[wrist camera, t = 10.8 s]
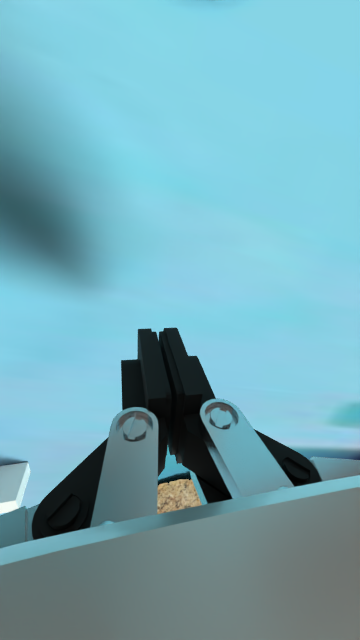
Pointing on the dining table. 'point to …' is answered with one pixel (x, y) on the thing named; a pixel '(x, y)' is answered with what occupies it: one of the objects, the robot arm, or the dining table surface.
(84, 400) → the dining table surface
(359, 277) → the dining table surface
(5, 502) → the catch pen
